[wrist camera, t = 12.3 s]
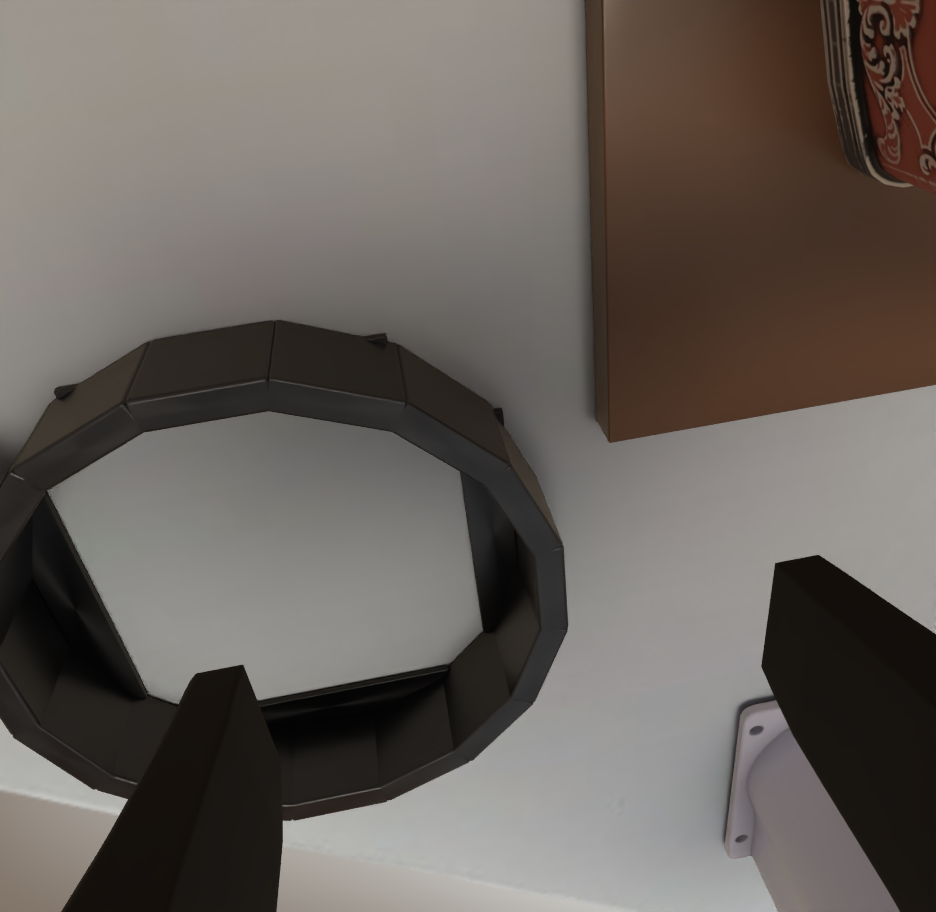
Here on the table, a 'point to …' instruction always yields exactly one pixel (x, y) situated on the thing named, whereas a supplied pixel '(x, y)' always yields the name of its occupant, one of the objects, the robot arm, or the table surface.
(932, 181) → the lighter
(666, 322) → the board
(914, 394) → the table surface
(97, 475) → the table surface
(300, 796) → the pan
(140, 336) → the table surface
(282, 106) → the table surface
